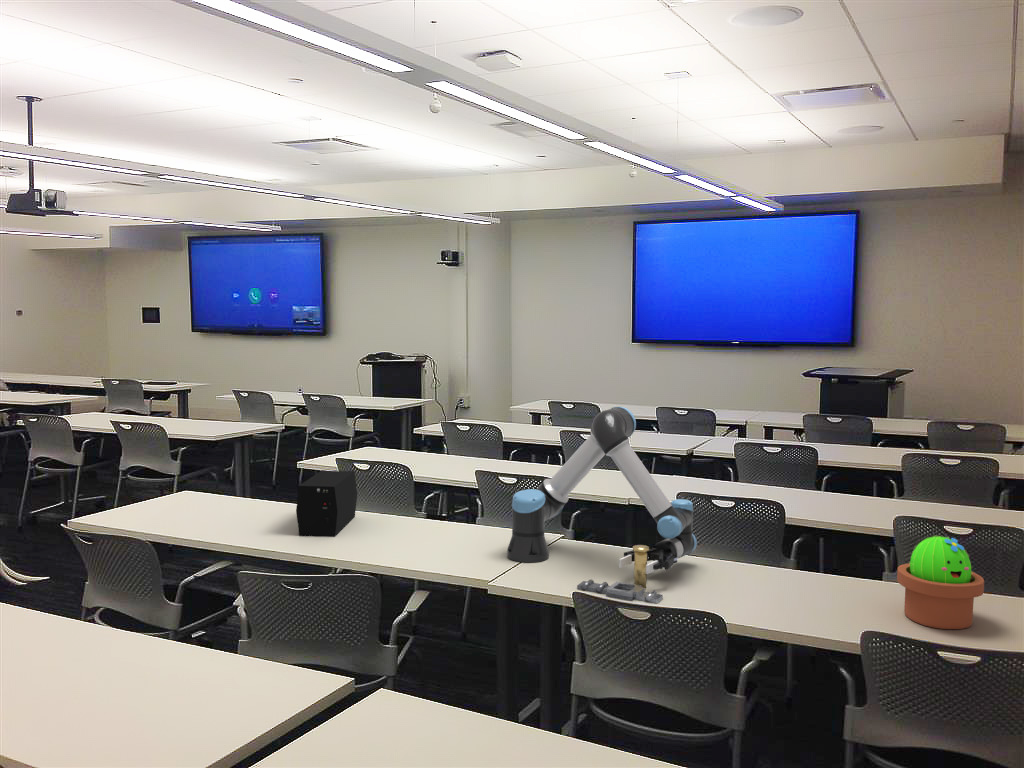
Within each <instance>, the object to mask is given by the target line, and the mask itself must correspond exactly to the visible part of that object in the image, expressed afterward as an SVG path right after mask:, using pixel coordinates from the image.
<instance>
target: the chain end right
mask: <svg viewBox="0 0 1024 768" xmlns="http://www.w3.org/2000/svg"><path fill="white" fill-rule="evenodd" d="M609 586H610V587H608V588H607V589H606V593H612V594H617V595H623V596H629V597H633V596H634V600H637V601H641V602H646V603H652V604H659V603H660V602H661V601H662V600H663V599H664V595H663V594H660V593H658V592H657V591H656V590H651V591H650V592H648V591H645V588H642V586H641V585H636V584H634V583H630V582H622V581H618V580H617V581H615V582H613V583H612V584H611V585H609ZM619 587H622V588H628V589H631V590H630V591H626V590H620V589H617V588H619Z"/></svg>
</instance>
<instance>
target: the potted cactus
mask: <svg viewBox="0 0 1024 768" xmlns="http://www.w3.org/2000/svg"><path fill="white" fill-rule="evenodd" d="M958 542H959V541H958V540H957V539H956V538H954V537H951V538H950V537H949V536H941V535H936V534H935V535H933V536H930V537H926V538H925V539H923V540H922V541H920V542H918V543H917V544H916V546H914V549H913V551H912V553H911V556H910V557H909V556H908V557H909V558H910V561H909V562H908V563H904V564H901V565H898V567H897V570H896V571H897V574H896V581H897V583H898V584H899V585H900V586H901V587H903V588H904V591H905V592H904V604H903V605H904V607H903V608H904V609H903V610H904V611H903V612H904V615H905V616H906V617H907V619H909V620H911V621H913V622H915V623H917V624H920V625H922V626H925V627H929V628H935V629H941V630H963V629H967V628H969V627H971V626H972V624H973V617H974V616H973V615H974V602H975V601H974V600H975V598H979V597H981V596H983V595H984V592H985V580H984V579H985V578H983V577H982V576H981V575H980V574H977V573H976V572H974V571H972V569H973V566H972V564H971V563H972V561H971V560H970V554H969V553H970V552H969V553H967V551H966V549H965V547H964V546H963V545H961V544H959V543H958Z"/></svg>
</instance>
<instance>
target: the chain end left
mask: <svg viewBox="0 0 1024 768" xmlns="http://www.w3.org/2000/svg"><path fill="white" fill-rule="evenodd" d="M610 586H611V585H609V583H608V582H606V581H603V582H602V583H597V582H595V581H594V580H593V579H592V578H591V579H589V580H587V581H585V580H583V581H581V582H580V583H578V584H577V585H576V587H577V588H576V589H577V590H581V591H583V592H584V591H586V592H592V593H597V594H603V595H606V597H607V598H608V597H609V598H613V597H615V598H614V599H620V600H625V601H631V602H633V601H634V600H635V599H634V596H633V597H629V596H623V595H617V594H612V593H606V589H607V588H608V587H610ZM617 589H620V590H626V591H630V590H631V589H628V588H622V587H619V588H617Z"/></svg>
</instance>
